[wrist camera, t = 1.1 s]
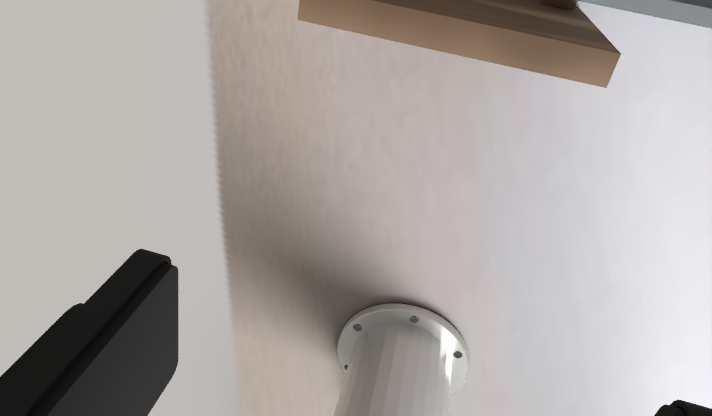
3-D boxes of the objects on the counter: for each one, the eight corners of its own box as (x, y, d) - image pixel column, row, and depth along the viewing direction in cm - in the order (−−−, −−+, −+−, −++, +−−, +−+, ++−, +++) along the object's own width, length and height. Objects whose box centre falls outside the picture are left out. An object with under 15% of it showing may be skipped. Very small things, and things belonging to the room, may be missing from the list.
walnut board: (560, 59, 36) (591, 121, 26) (345, 12, 37) (293, 54, 27) (589, -20, 33) (637, 14, 23) (357, -67, 35) (305, -55, 24)
